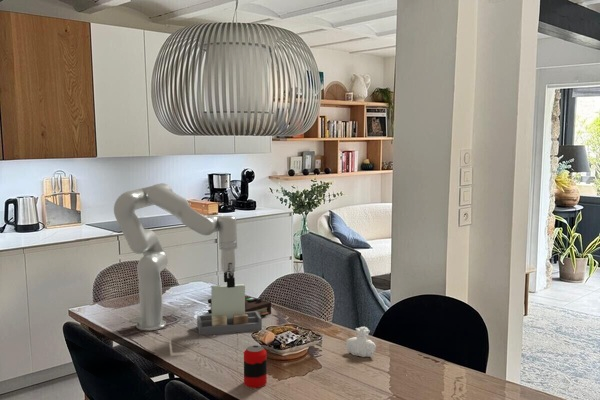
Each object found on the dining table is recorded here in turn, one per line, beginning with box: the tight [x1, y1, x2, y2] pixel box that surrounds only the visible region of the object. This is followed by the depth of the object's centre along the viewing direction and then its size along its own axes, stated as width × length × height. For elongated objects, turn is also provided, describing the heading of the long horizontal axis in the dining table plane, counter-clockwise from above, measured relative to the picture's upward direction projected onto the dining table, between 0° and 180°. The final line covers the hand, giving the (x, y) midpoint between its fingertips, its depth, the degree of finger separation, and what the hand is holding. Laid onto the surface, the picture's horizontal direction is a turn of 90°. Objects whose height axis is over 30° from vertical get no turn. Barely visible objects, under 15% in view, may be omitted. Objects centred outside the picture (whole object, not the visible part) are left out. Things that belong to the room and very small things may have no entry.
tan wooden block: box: [233, 314, 248, 324], centre depth 239 cm, size 6×3×6 cm, turn 105°
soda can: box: [243, 345, 268, 389], centre depth 188 cm, size 8×8×12 cm
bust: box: [345, 326, 377, 358], centre depth 215 cm, size 12×8×11 cm
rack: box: [196, 311, 263, 336], centre depth 240 cm, size 26×10×6 cm, turn 105°
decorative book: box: [207, 294, 272, 318], centre depth 264 cm, size 19×8×30 cm
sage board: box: [210, 283, 246, 319], centre depth 242 cm, size 14×2×18 cm, turn 105°
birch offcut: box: [212, 316, 227, 326], centre depth 237 cm, size 6×3×6 cm, turn 105°
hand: (229, 284), depth 241 cm, fingers open, 9 cm apart
